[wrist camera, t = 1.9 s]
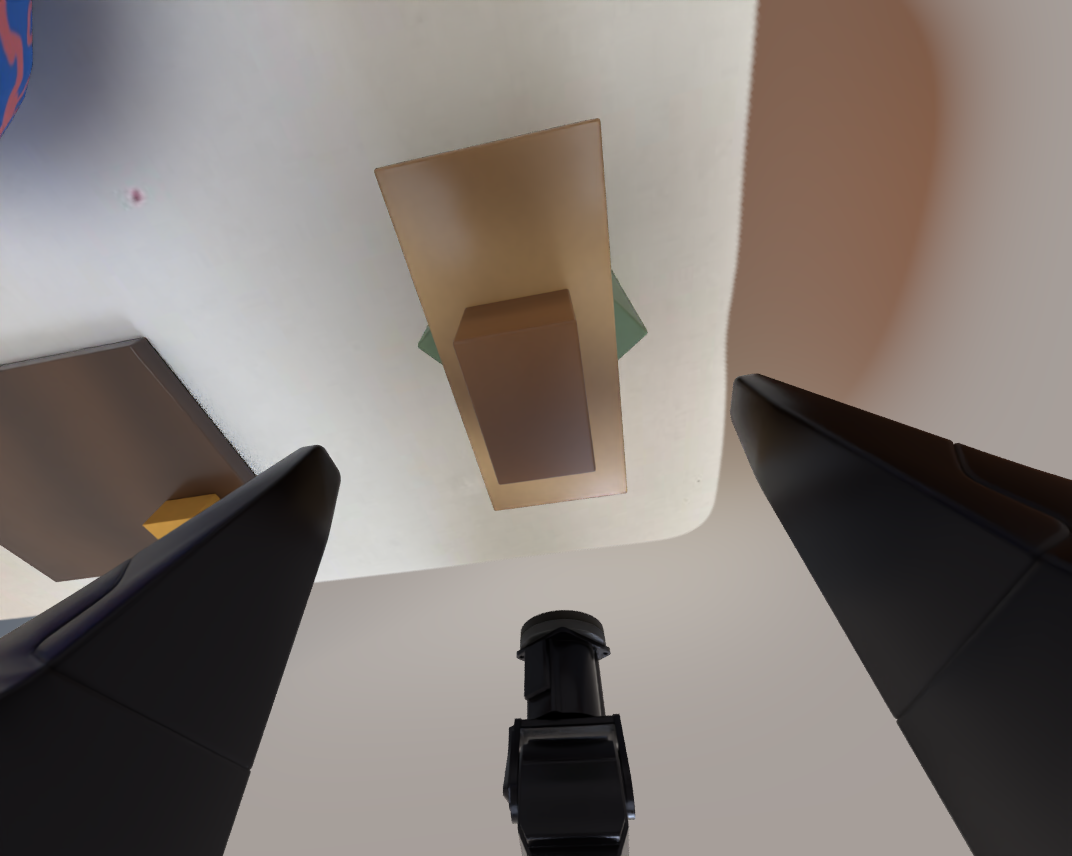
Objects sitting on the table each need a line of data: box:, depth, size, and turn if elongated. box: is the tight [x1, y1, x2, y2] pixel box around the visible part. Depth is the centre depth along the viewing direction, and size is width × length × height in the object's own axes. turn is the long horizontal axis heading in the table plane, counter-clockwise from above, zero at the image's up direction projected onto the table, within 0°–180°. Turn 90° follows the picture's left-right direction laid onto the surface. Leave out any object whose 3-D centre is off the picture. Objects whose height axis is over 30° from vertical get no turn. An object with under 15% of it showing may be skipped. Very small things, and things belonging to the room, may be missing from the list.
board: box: [0, 338, 256, 582], centre depth 26 cm, size 20×16×1 cm
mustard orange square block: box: [143, 494, 220, 539], centre depth 26 cm, size 4×4×2 cm
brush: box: [374, 118, 627, 511], centre depth 11 cm, size 10×4×4 cm, turn 10°
